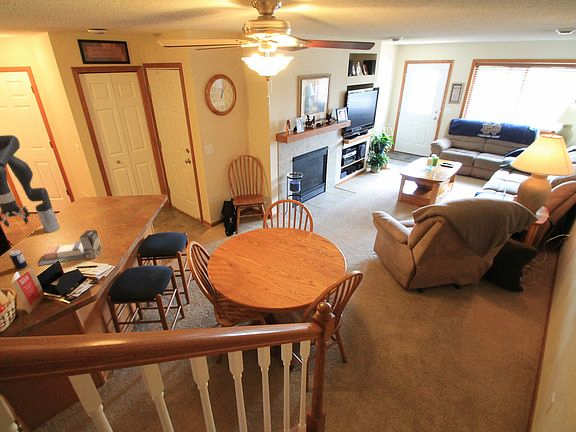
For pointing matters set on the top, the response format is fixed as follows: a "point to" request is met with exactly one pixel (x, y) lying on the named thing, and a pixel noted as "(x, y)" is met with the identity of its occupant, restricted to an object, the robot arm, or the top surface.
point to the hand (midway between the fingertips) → (17, 224)
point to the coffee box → (91, 244)
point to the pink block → (51, 252)
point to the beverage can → (18, 259)
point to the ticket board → (64, 259)
